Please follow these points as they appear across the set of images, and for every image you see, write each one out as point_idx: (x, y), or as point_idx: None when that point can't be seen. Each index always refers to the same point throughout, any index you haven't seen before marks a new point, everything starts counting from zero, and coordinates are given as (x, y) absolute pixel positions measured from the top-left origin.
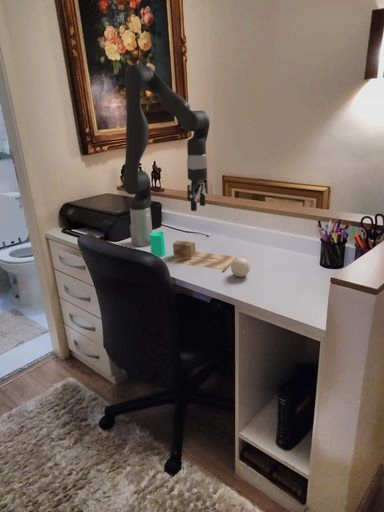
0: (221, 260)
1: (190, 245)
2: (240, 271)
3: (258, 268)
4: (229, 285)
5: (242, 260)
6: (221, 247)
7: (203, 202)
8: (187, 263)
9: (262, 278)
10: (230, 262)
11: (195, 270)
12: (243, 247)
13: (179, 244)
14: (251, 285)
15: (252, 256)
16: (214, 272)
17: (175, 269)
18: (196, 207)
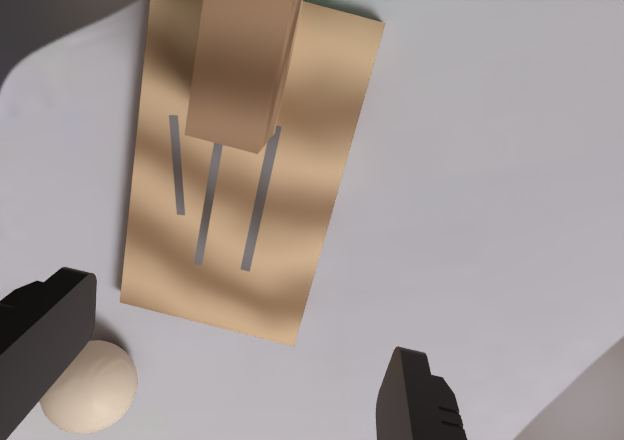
0: (231, 282)
1: (187, 133)
2: None
3: (204, 418)
4: None
5: (57, 423)
6: (486, 251)
7: (384, 429)
8: (153, 106)
9: (109, 428)
10: (212, 324)
11: (116, 159)
12: (479, 360)
13: (199, 36)
14: None
15: (344, 399)
16: (117, 254)
17: (100, 39)
18: (55, 367)
